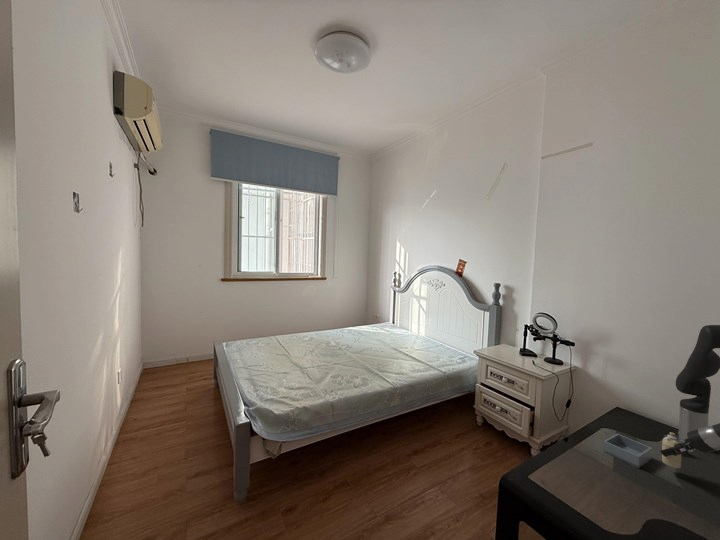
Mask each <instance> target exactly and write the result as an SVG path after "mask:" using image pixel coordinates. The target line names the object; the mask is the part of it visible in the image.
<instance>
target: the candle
mask: <svg viewBox="0 0 720 540" xmlns="http://www.w3.org/2000/svg"><path fill="white" fill-rule="evenodd" d="M676 443H677V442H676V441H674V440H672V439H665V440H663V439H662V443H661V445H662V446H661V450H664V449H668V448H669V447H673V446H674V444H676ZM678 446H679V445H678ZM674 451H675V450H674ZM675 452H676V451H675ZM661 462H662V463H663V464H664V465H666V466H668V467H671V468H672V469H673V468H674V469H681V468H682V454H680V455H677V456H674V455H670V456H666V457H665V456H664V455H663V454H662V453H661Z"/></svg>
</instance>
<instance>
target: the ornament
mask: <svg viewBox="0 0 720 540" xmlns="http://www.w3.org/2000/svg"><path fill="white" fill-rule="evenodd" d="M677 434H678V435H679V431H677ZM681 437H682V436H681ZM684 438H685V437H684V435H683V439H684ZM665 439H672V440H674V441H676V442H678V441H679V439H678V437H677V436H676V433H674V432H670V431H669V434H667V435H666V436H665V437H664V438H663V439H662V441H663V440H665Z"/></svg>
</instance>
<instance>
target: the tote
mask: <svg viewBox="0 0 720 540" xmlns="http://www.w3.org/2000/svg"><path fill="white" fill-rule="evenodd" d="M602 442H603V443H602V452H603V453H605V454H607V455H609V456H612V457H614V458H616V459H617V460H619V461H621V462H624V463H626V464H629V465H630V466H632V467H635V468H637V469H640V468H642V467H643V466H644V465H646V464H647V463H649V462H650V461H652V460H653V447H651V446H649V445H646V444H644V443H641V442H639V441H637V440H634V439H632V438H630V437H627V436H624V435H622V434H621V433H615V434H614V435H612V436H610V437H608V438H606V439H604V440H603V441H602ZM648 461H649V462H648Z"/></svg>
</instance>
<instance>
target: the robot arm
mask: <svg viewBox="0 0 720 540" xmlns="http://www.w3.org/2000/svg"><path fill="white" fill-rule="evenodd" d="M715 349H720V324H709V325H708V324H706V325H704V326H702V327H701V328H700V331H699V334H698V337H697V339H696V344H695V346H694V348H693V350H692V352H691V354H690V355H689V356H688V359H687V362H686V364H685V366H684V368H683V369H682V370H681V371H680V372H679V374H678V375H677V377H676V379H675V387H676V389H677V391H678V392H680V393H682V394H685V395H690V396H695V397H692V398H684V399H681V400H680V401H679V414H678V415H679V420H678V421H679V422H678V425H679V426H678V432H679V434H678V442H677V443H676V444H674V446H673V447H669V448H668V449H664V450H662V449H661V450H660V453H661V455H662V454H663V455H664V456H665V457H666V456H670V455H674V456H677V455H680V454H681V455H684V454H688V453H692V452H695V451H696V450H698V451H699V452H702V453H704V454H709V453H713V452H717V451H720V423H716V424H713V425H709V412H710V410H709V409H710V400H711V393H712V391H711V390H712V387H711V386H712V385H711V382H710V380H709V378H711V377H713V376H715V375H716V374H717V373H718V372H719V371H720V356H719V354H717V353H716V351H715ZM683 435H684V437H685V438H684V439H683ZM681 436H682V437H681ZM678 445H679V446H678ZM674 450H675V451H676V452H675V451H674Z"/></svg>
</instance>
